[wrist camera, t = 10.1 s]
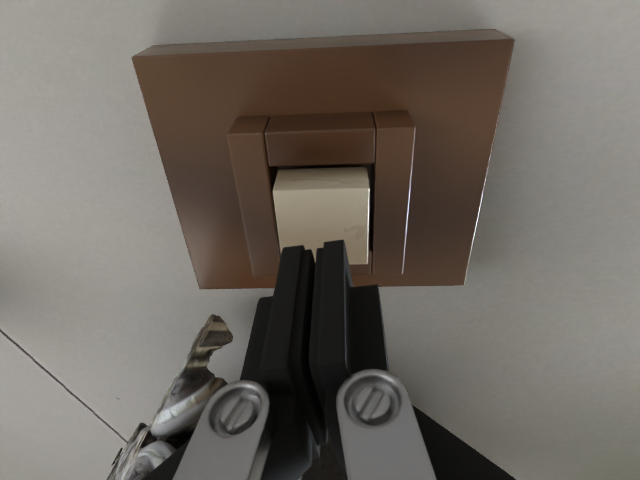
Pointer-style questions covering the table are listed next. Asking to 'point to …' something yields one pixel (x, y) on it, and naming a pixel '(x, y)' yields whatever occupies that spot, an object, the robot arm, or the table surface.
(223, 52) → the brown light switch
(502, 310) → the table surface
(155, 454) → the camera
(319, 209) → the key
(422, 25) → the table surface
